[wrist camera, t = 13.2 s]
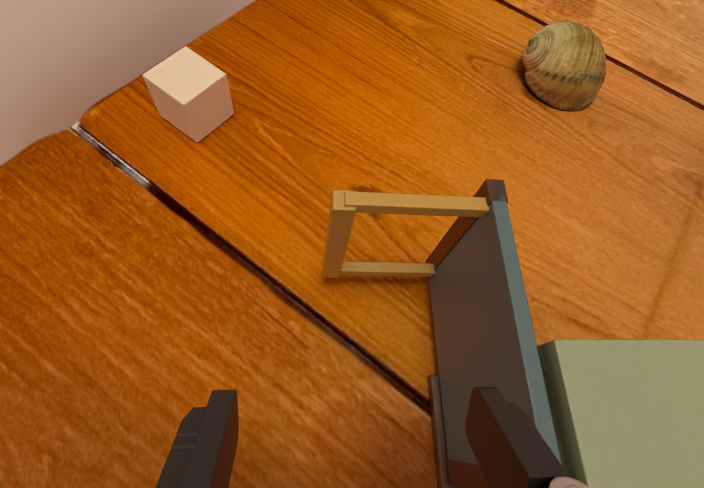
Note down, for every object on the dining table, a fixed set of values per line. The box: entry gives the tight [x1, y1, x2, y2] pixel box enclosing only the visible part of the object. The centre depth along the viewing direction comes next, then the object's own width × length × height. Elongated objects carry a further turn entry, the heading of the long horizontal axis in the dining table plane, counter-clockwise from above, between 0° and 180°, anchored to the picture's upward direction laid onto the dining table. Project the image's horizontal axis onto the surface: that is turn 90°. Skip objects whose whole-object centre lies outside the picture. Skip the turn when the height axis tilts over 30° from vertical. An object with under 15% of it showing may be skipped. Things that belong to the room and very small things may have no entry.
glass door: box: [323, 179, 562, 488], centre depth 23 cm, size 9×15×12 cm, turn 1°
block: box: [142, 47, 234, 143], centre depth 34 cm, size 5×5×5 cm
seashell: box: [523, 21, 606, 111], centre depth 42 cm, size 10×7×8 cm
